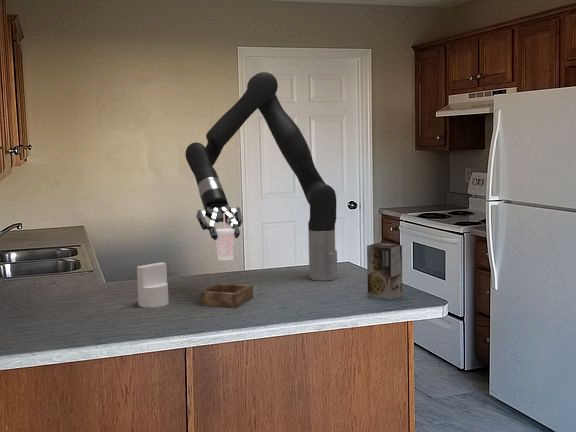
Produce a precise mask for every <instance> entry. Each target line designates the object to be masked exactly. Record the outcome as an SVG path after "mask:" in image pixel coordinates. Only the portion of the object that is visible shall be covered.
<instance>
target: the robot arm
mask: <svg viewBox="0 0 576 432" xmlns="http://www.w3.org/2000/svg"><path fill="white" fill-rule="evenodd" d="M276 78H277V77H276V76H274V74H272V73H270V72H267V71H262V72H258V73H256V74H255V75H253V76H252V77H250V78H249V80H248V82H247V85H246V90H245V91H244V93H243V95H242V96H241V97H240V98H239V99H238V100H237V101H236V102H235V104H234V105H233V106H232V107H230V109H228V110H227V111H226V112H225V113H224V114H223V115H222V116H221V117H220V118H219V119H218V120H217V121H216V122H215V124H213V125H212V126H211V128H210V129H209V130H208V132H207V133H206V134H205V138H206V140H207V143H206V146H205V145H204V144H202V143H201V142H192V143H190V144H189V145H188V146H187V147H186V149H185V159H186V162H187V164H188V166H189V168H190V170H191V171H192V174H193V175H194V178H195V181H196V185H197V187H198V194H199V198H200V200H201V202H202V206H203V210H201V209H198V210H197V212H196V216H195V217H196V219H197V221H198V223H199V225H200V227H201V229H202V230H203V231H205V230H207V231H209V234H210V238H211V239H213V241H216V240H217V238H218V235H217V232H216V226H215V223H217V224H218V223H220V222H221V223H224V222H223V213H225V225H229V226H230V227H231V228H232V229H235V232H234V238H235V239H238V238H239V236H240V234H241V231H240V227H241V226H242V223H243V221H244V220H243V217H242V211H241V208H240V207H239V206H237V207H236V208H231V206H230V205H229V201H228V198H227V196H226V193H225V191H224V188H223V185H222V183H221V182H220V179H219V176H218V173H217V171H216V169H215V168H214V165H215V164H216V163H217V160H218V158H219V156H220V155H221V152H222V151H223V148H224V147H225V145H226V144H227V143H228V142H229V141H230V140H231V139H232V138H233V137H234V136H235V134H236V133H237V132H238V131H239V130H240V128H241V127H242V126H243V125H244V124H245V123H246V121H247V120H248V119H249V118H250V117H251V116H252V115H253V114H254V113H255V111H257V110H259V112H260V114H261V115H262V117H263V118H264V120H265V123H266V124H267V126H268V129H269V131H270V133H271V135H272V137H273V139H274V141H275V143H276V145H277V147H278V149H279V151H280V152H281V154H282V156H283V157H284V159H285V161H286V162H287V165H288V166H289V168H290V169H291V171H292V172H293V174H294V175H295V177H296V178H297V180H298V182H299V184H300V187H301V190H302V191H303V194H304V196H305V199H306V201H307V203H308V205H309V220H308V222H307V223H308V231H307V232H308V233H307V234H308V275H309V280H313V281H319V282H320V281H334V280H335V279H337V277H338V250H337V249H336V222H337V193H336V191H335V189H334V188H333V186H330V185H329V184H326V182H325V181H324V179H323V177H322V176H321V174H320V173H319V171H318V170H317V168H316V166H315V163H314V160H313V156H312V154H311V150H310V147H309V145H308V142H307V141H306V138H305V137H304V135H303V133H302V131H301V129H300V128H299V126H298V125H297V124H296V123H295V121H294V120H293V118H291V117H290V115H288V113H287V112H286V111H285V109H284V108H283V107H282V104H281V103H280V101H279V98H278V96H277V92H278V88H279V87H278V85H279V83H278V79H276ZM205 217H207V218H208V219H210V220H209V223H208V222H207V220H206V218H205ZM234 217H235V218H234Z"/></svg>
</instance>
